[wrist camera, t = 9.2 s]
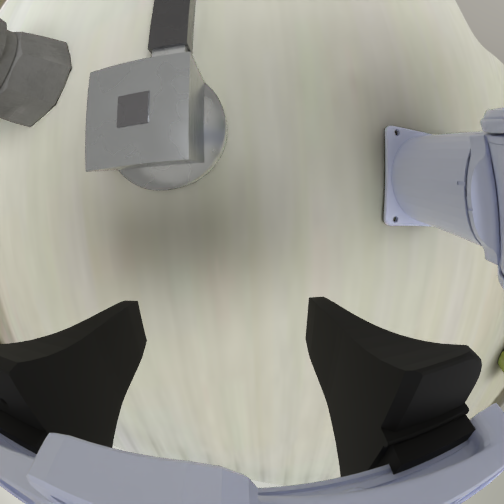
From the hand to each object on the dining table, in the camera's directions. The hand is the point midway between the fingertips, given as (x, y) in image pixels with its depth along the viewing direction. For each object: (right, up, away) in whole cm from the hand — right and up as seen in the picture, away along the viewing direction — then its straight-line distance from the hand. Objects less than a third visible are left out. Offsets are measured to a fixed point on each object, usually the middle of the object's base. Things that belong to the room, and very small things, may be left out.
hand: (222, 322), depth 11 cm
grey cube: (-4, +11, +4) cm, 13 cm away
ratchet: (-5, +18, +5) cm, 19 cm away
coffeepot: (-20, +20, +4) cm, 28 cm away
